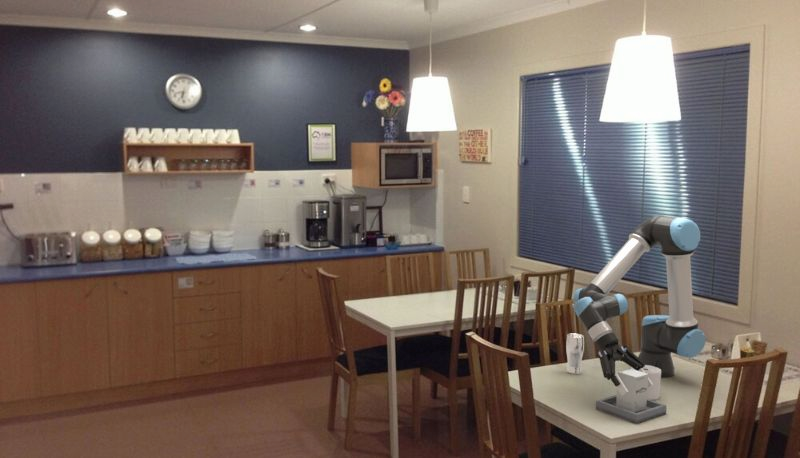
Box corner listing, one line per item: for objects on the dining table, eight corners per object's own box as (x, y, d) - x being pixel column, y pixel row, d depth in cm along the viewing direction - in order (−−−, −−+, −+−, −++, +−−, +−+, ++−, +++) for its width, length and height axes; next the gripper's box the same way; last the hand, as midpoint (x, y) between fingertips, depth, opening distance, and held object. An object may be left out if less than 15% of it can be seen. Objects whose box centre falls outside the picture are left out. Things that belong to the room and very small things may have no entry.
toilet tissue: (653, 390, 272) (655, 364, 271) (665, 402, 260) (667, 374, 259) (625, 390, 272) (626, 364, 271) (635, 401, 260) (637, 374, 259)
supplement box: (633, 413, 244) (635, 377, 243) (615, 407, 250) (617, 371, 249) (647, 409, 249) (649, 373, 247) (628, 403, 255) (630, 368, 253)
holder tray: (625, 400, 261) (626, 392, 260) (666, 413, 248) (666, 405, 247) (595, 409, 251) (596, 400, 251) (636, 423, 238) (636, 415, 238)
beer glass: (583, 375, 289) (584, 338, 288) (565, 373, 291) (566, 337, 289) (582, 369, 296) (584, 333, 295) (564, 368, 298) (566, 332, 296)
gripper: (619, 338, 267) (652, 388, 256) (574, 347, 252) (607, 402, 242) (632, 326, 262) (666, 378, 252) (586, 336, 247) (621, 391, 237)
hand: (637, 390), depth 247 cm, fingers open, 13 cm apart
